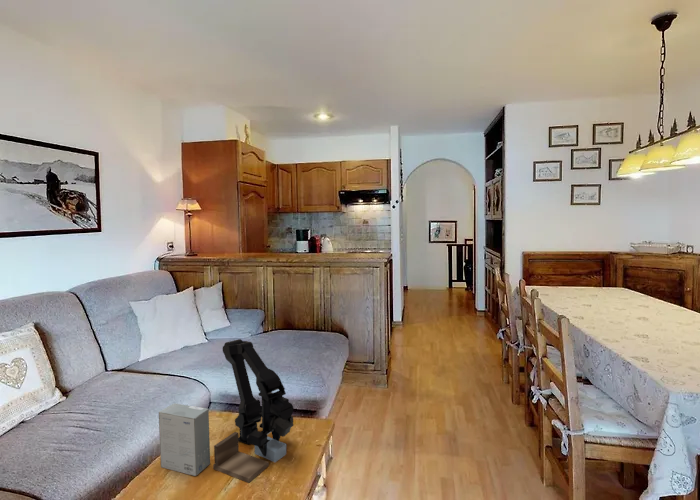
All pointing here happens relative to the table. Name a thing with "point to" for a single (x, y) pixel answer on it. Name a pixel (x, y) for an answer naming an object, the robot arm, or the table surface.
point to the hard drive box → (184, 438)
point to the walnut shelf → (236, 460)
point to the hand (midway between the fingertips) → (270, 451)
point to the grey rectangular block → (273, 450)
